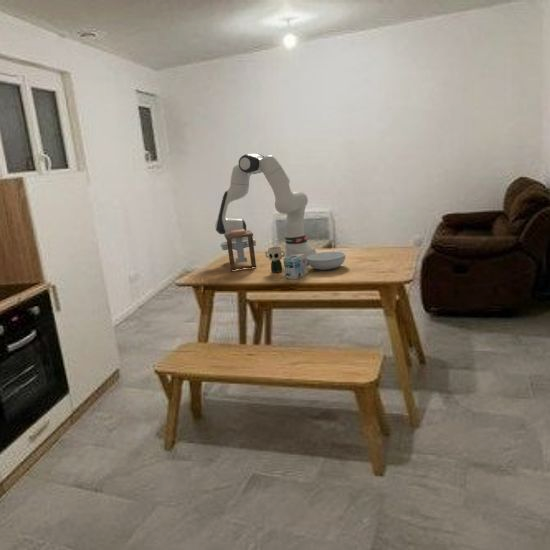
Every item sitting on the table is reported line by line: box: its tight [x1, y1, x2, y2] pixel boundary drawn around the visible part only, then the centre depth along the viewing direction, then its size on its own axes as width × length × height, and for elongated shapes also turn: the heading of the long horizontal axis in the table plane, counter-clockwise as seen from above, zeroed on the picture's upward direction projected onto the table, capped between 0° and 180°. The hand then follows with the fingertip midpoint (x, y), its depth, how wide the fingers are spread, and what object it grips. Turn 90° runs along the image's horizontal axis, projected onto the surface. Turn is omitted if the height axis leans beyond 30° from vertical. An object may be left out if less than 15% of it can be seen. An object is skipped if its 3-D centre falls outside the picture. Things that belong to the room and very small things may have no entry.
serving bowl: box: [306, 251, 346, 271], centre depth 260 cm, size 21×21×7 cm
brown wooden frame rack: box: [223, 229, 257, 271], centre depth 281 cm, size 14×15×20 cm
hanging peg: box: [230, 229, 248, 264], centre depth 281 cm, size 8×8×18 cm
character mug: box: [264, 246, 285, 273], centre depth 264 cm, size 11×7×13 cm, turn 73°
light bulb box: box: [282, 254, 308, 280], centre depth 249 cm, size 11×7×11 cm, turn 143°
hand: (239, 246), depth 280 cm, fingers open, 6 cm apart
